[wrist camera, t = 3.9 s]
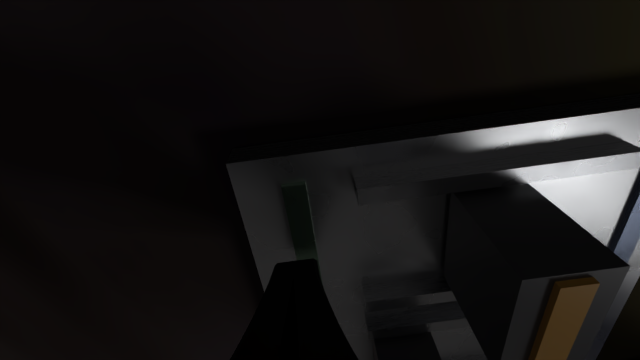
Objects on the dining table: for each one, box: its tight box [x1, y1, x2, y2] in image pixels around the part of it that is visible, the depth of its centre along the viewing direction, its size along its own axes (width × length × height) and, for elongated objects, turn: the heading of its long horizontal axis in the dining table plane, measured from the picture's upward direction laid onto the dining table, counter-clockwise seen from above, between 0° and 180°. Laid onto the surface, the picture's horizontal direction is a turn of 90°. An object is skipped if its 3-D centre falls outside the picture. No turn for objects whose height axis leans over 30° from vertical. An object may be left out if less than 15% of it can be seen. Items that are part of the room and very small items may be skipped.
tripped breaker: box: [443, 183, 630, 360], centre depth 10 cm, size 2×4×4 cm, turn 7°
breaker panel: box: [226, 93, 640, 360], centre depth 16 cm, size 16×22×2 cm
